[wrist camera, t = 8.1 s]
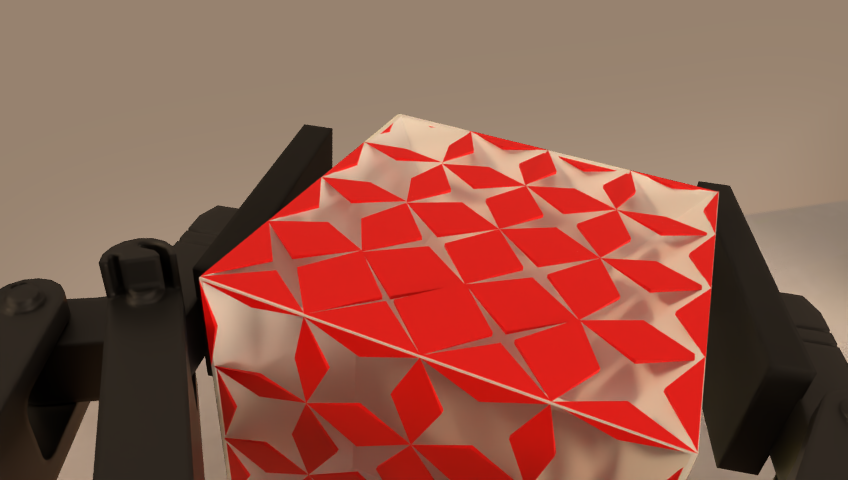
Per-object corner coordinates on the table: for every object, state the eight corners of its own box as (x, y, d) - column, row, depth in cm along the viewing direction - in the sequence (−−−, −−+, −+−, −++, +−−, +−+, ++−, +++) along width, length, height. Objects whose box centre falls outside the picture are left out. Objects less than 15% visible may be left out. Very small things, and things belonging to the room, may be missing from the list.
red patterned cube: (572, 714, 13) (698, 455, 9) (236, 550, 15) (197, 277, 11) (630, 425, 19) (719, 189, 15) (386, 339, 21) (400, 111, 17)
